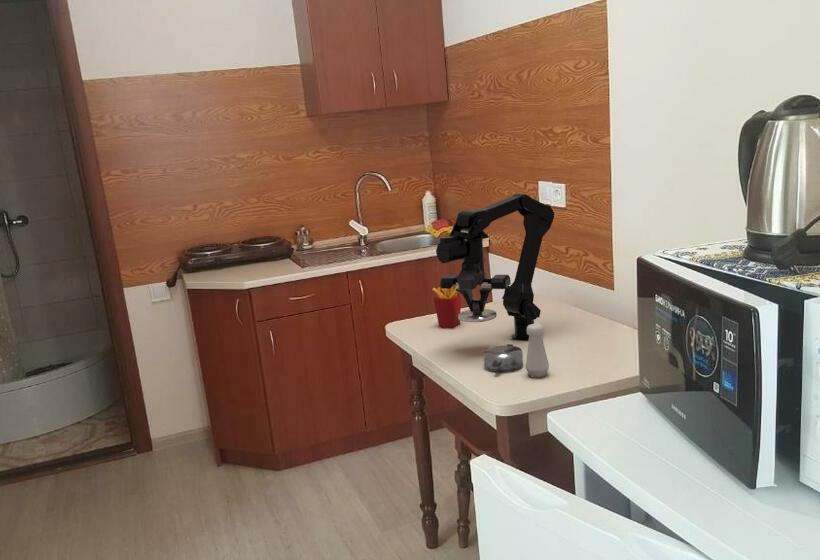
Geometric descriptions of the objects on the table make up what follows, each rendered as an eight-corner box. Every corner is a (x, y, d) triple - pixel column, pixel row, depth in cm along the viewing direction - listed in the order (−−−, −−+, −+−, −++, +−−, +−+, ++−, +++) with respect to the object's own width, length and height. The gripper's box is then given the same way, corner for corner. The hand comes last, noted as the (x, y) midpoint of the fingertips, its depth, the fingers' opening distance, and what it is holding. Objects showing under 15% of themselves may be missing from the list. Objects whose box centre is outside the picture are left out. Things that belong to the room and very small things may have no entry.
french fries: (435, 328, 227) (431, 282, 224) (448, 321, 234) (444, 276, 231) (459, 330, 223) (455, 283, 219) (472, 323, 229) (468, 277, 226)
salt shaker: (549, 378, 177) (546, 328, 174) (525, 379, 178) (522, 329, 175) (549, 370, 182) (547, 321, 179) (526, 370, 183) (523, 322, 181)
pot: (492, 355, 197) (492, 341, 196) (529, 357, 193) (528, 342, 192) (477, 375, 183) (476, 360, 182) (515, 377, 180) (514, 362, 179)
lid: (465, 311, 206) (464, 294, 205) (501, 311, 202) (500, 295, 201) (453, 321, 197) (451, 304, 196) (490, 322, 193) (489, 305, 192)
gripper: (430, 263, 192) (435, 319, 196) (498, 262, 185) (502, 321, 188) (444, 254, 202) (449, 308, 206) (509, 254, 195) (512, 309, 198)
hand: (477, 311), depth 199 cm, fingers closed on lid, 3 cm apart
